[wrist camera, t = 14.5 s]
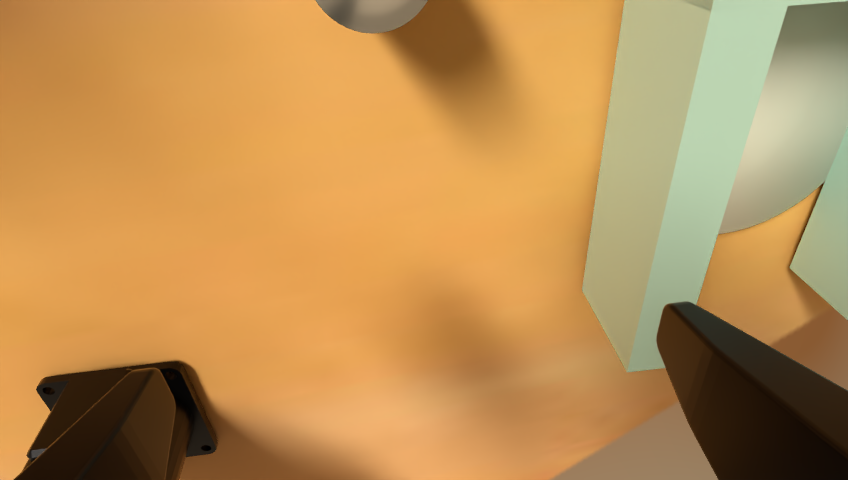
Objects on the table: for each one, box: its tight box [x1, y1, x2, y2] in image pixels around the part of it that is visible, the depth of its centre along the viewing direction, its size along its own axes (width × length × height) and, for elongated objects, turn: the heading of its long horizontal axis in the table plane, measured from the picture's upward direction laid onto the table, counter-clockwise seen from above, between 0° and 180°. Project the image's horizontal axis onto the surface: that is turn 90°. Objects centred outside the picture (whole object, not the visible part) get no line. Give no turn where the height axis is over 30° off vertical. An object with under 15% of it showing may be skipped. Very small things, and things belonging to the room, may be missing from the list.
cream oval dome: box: [718, 1, 848, 234], centre depth 21 cm, size 10×10×1 cm
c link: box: [582, 0, 848, 372], centre depth 19 cm, size 15×12×5 cm
